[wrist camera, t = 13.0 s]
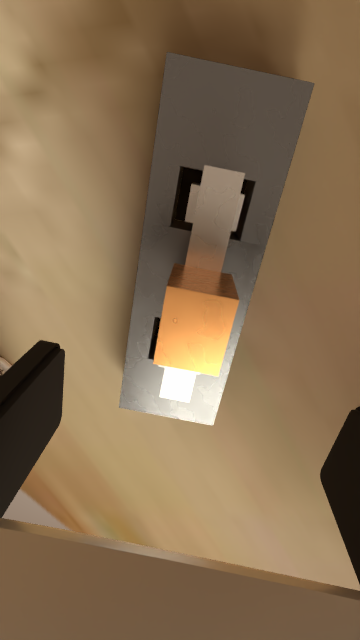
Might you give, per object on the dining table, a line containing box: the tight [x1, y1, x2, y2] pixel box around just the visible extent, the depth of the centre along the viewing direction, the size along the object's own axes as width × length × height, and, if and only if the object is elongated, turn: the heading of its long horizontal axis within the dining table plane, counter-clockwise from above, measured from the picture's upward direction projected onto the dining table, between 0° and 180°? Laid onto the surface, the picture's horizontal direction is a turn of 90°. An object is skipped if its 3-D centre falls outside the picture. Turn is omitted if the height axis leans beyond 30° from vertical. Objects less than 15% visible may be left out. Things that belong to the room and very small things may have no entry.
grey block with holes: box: [119, 52, 314, 425], centre depth 24 cm, size 8×24×4 cm, turn 170°
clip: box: [153, 165, 245, 402], centre depth 20 cm, size 3×14×12 cm, turn 170°
